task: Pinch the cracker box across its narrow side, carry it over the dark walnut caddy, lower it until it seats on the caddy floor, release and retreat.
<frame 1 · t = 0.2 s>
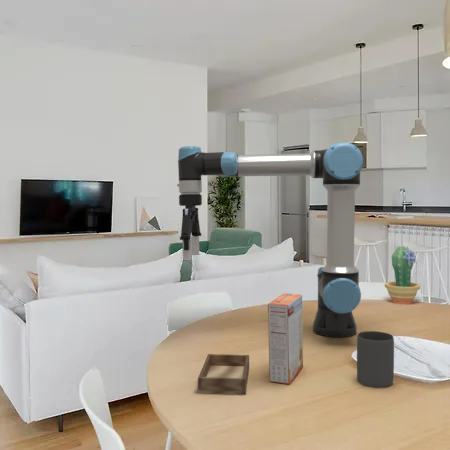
hand: (191, 257, 165), 28 cm above the table, fingers open, 13 cm apart
potted cactus: (402, 302, 223), on the table
mug: (374, 379, 131), on the table
cracker box: (286, 375, 134), on the table
caddy: (225, 379, 130), on the table
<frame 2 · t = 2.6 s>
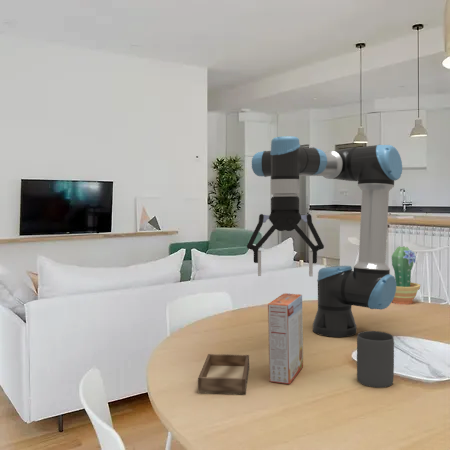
hand: (285, 275, 132), 27 cm above the table, fingers open, 13 cm apart
nothing on the table moved.
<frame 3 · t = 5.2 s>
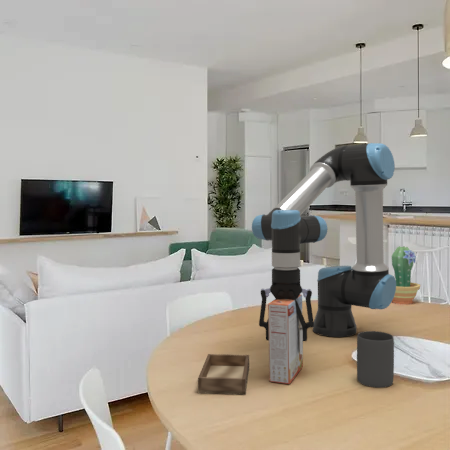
hand: (286, 352, 133), 6 cm above the table, fingers closed on cracker box, 7 cm apart
cracker box: (286, 375, 134), on the table, touching gripper
everything else where it was.
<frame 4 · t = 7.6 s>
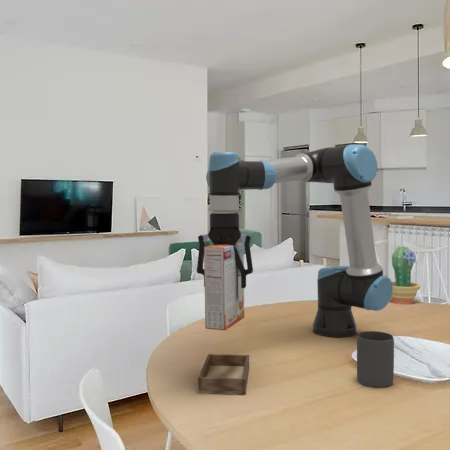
hand: (225, 300, 129), 21 cm above the table, fingers closed on cracker box, 7 cm apart
cracker box: (224, 324, 130), point 15 cm above the table, touching gripper
everything else where it was.
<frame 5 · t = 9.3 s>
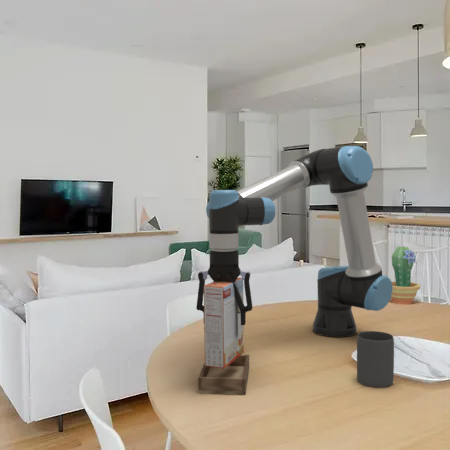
hand: (224, 336, 130), 12 cm above the table, fingers closed on cracker box, 7 cm apart
cracker box: (224, 360, 130), point 5 cm above the table, touching gripper
everything else where it was.
when the fingers open (8 cm above the table, at t = 10.4 s): cracker box stays where it is, resting on caddy.
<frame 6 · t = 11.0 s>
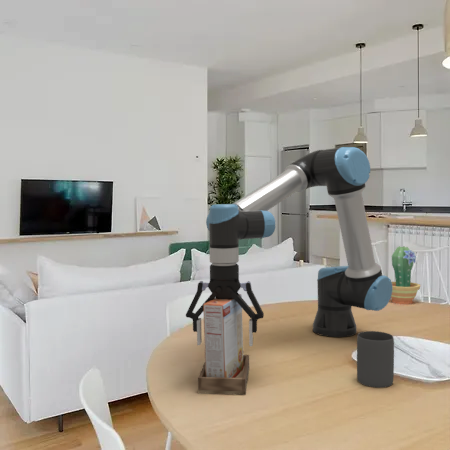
hand: (225, 344, 130), 10 cm above the table, fingers open, 13 cm apart
cracker box: (224, 377, 130), point 1 cm above the table, touching caddy
everything else where it was.
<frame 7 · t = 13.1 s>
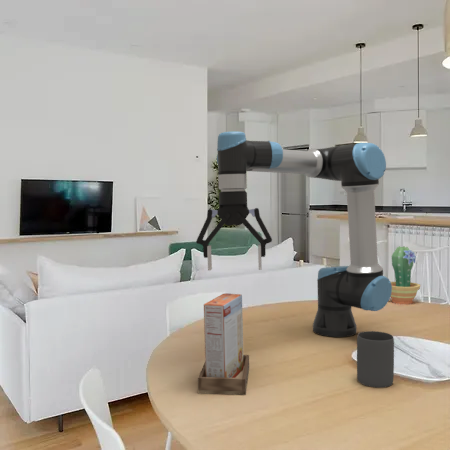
hand: (234, 269, 134), 28 cm above the table, fingers open, 13 cm apart
nothing on the table moved.
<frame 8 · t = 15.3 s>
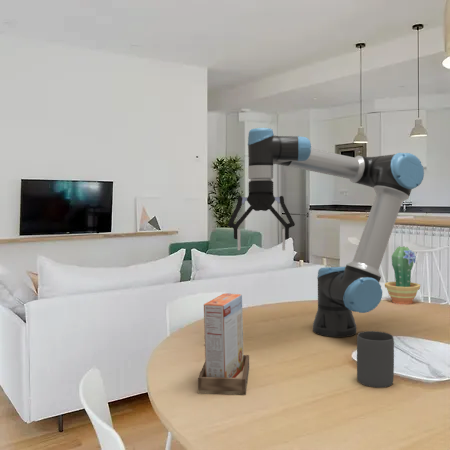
hand: (261, 250, 152), 32 cm above the table, fingers open, 13 cm apart
nothing on the table moved.
at the end: cracker box inside the target area on the caddy (0.2 cm from its centre), point 0.6 cm above the caddy's base; cracker box tilted 0°; the gripper is holding nothing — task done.
